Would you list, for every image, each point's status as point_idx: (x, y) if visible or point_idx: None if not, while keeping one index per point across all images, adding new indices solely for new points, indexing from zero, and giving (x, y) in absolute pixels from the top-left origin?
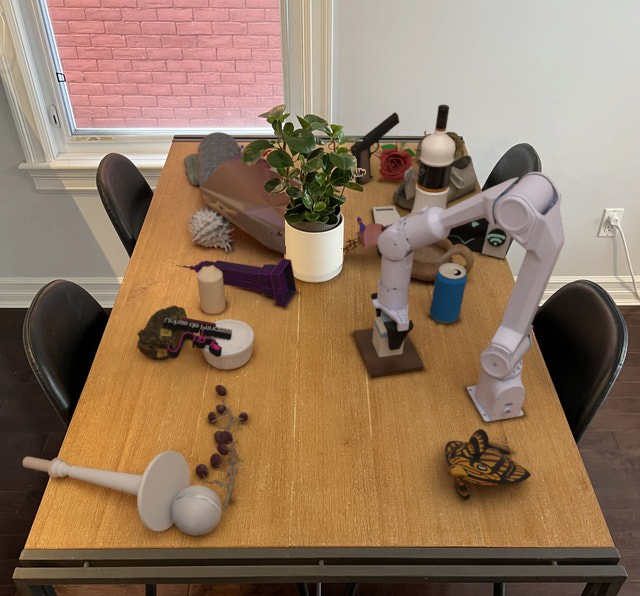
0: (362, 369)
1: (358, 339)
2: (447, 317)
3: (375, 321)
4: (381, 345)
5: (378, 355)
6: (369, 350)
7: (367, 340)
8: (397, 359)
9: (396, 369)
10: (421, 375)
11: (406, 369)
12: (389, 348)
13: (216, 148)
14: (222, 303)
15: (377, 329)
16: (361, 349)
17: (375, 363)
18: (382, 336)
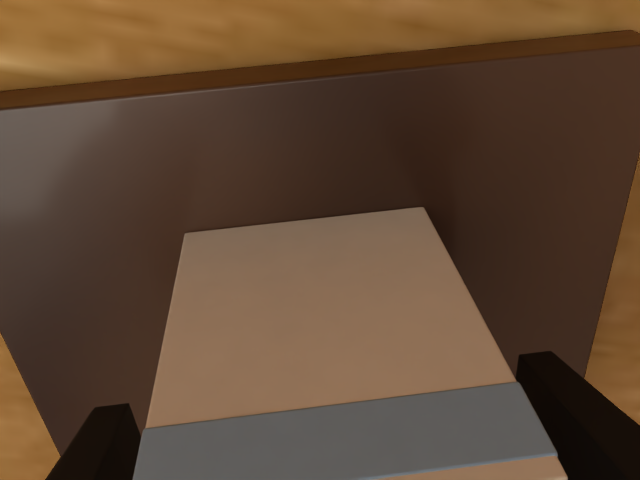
0: (68, 30)
1: (501, 74)
2: None
3: (479, 461)
4: (165, 346)
5: (204, 233)
6: (300, 160)
7: (460, 165)
8: (152, 365)
9: (13, 344)
10: (37, 449)
11: (39, 401)
12: (100, 415)
13: None
14: None
15: (330, 426)
16: (328, 78)
17: (86, 186)
18: (138, 474)
